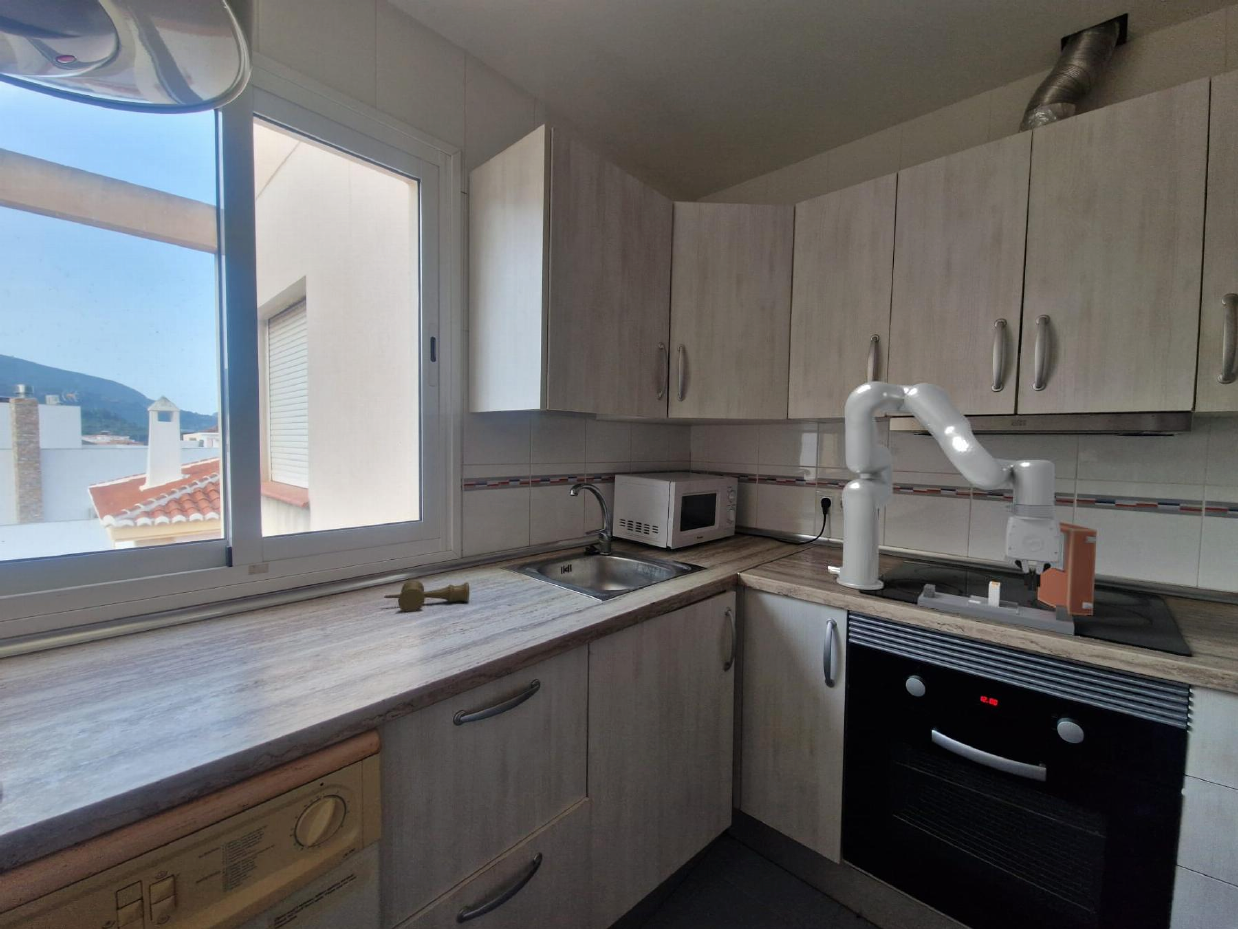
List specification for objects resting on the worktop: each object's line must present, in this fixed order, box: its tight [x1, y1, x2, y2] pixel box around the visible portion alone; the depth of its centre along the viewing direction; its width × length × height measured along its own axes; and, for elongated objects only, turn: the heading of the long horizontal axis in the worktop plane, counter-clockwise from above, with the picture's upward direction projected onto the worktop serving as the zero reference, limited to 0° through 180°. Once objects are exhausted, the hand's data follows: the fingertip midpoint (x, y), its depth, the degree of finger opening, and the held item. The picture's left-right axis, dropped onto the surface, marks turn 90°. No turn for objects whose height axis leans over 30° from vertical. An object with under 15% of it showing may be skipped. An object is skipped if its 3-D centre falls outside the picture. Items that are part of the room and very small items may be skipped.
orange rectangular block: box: [1037, 522, 1098, 616], centre depth 130 cm, size 21×7×15 cm
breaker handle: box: [988, 580, 1001, 607], centre depth 124 cm, size 2×4×6 cm, turn 140°
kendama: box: [383, 579, 471, 613], centre depth 126 cm, size 6×10×20 cm
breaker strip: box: [917, 583, 1075, 636], centre depth 124 cm, size 30×10×4 cm, turn 50°
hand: (1032, 589), depth 119 cm, fingers closed
